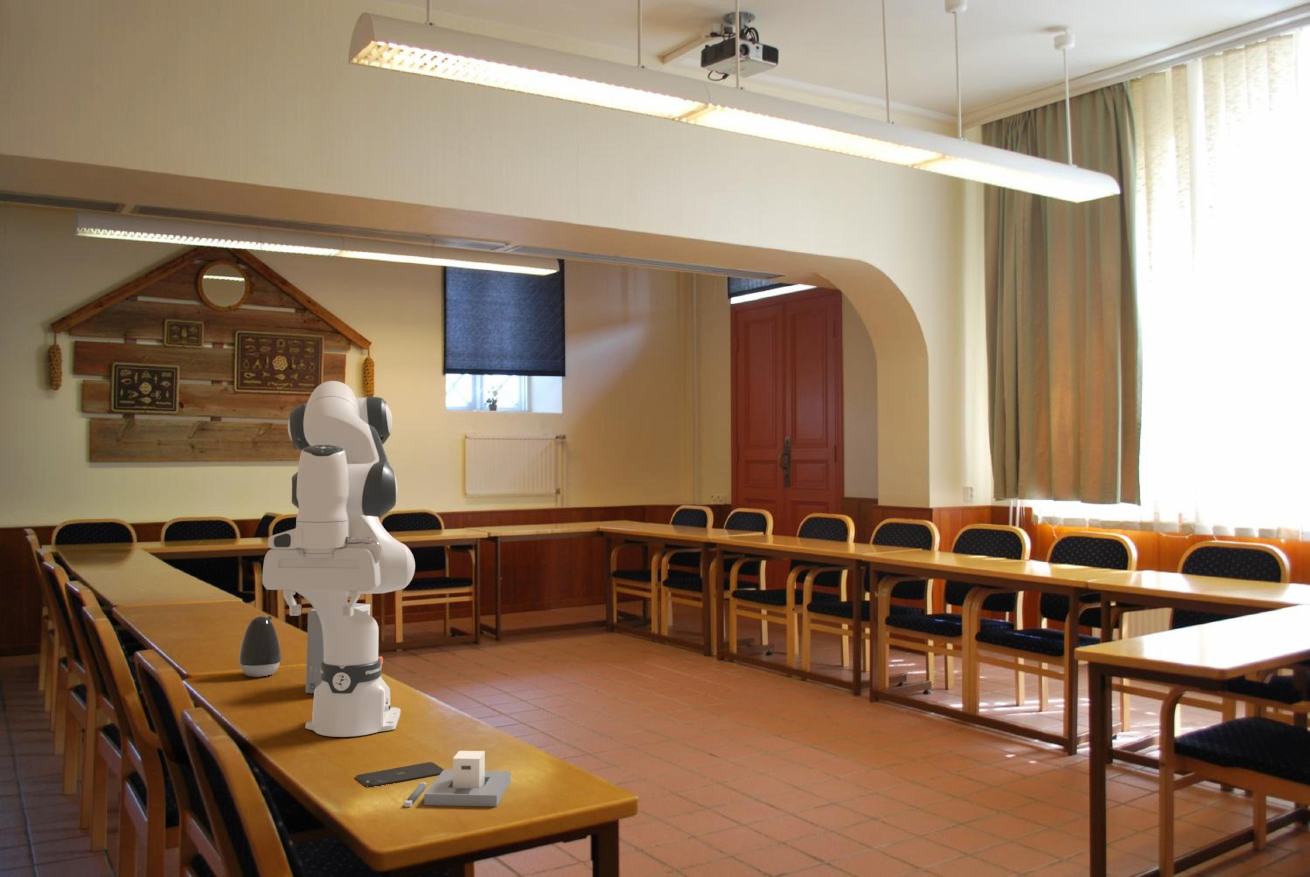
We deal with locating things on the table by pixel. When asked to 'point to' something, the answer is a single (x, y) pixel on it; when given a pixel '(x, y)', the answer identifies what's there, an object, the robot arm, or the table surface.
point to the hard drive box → (318, 647)
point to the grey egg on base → (260, 648)
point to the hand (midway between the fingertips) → (321, 615)
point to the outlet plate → (468, 790)
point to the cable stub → (415, 794)
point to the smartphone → (400, 774)
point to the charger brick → (469, 769)
